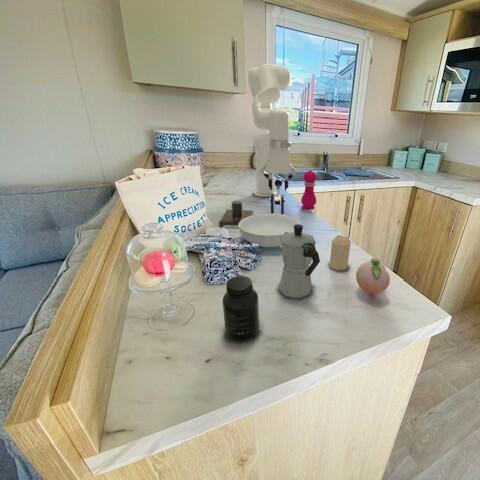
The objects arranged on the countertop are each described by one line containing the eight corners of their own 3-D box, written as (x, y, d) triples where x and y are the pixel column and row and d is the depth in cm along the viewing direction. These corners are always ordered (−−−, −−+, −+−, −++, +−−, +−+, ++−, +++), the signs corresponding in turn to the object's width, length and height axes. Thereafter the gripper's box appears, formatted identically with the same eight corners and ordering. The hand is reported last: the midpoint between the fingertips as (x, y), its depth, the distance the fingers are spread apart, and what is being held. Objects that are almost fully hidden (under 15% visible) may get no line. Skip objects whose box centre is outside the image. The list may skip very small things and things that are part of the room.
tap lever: (274, 183, 117) (274, 177, 114) (282, 183, 117) (282, 177, 115) (273, 205, 109) (273, 199, 107) (281, 205, 110) (281, 199, 107)
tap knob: (233, 213, 112) (232, 200, 110) (243, 214, 113) (242, 200, 111) (231, 217, 109) (230, 203, 106) (241, 217, 109) (241, 203, 107)
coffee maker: (269, 281, 74) (269, 219, 67) (296, 273, 79) (299, 214, 72) (298, 312, 64) (302, 243, 56) (328, 300, 69) (335, 235, 61)
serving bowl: (269, 225, 111) (269, 209, 108) (310, 240, 100) (312, 223, 97) (226, 241, 95) (225, 222, 92) (270, 261, 84) (270, 241, 82)
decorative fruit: (351, 282, 77) (355, 251, 73) (379, 283, 78) (385, 252, 74) (357, 303, 69) (362, 269, 64) (389, 304, 69) (396, 270, 65)
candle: (349, 264, 87) (353, 235, 82) (344, 272, 82) (348, 242, 78) (332, 260, 88) (335, 231, 84) (327, 268, 83) (330, 238, 79)
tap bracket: (267, 218, 118) (267, 191, 113) (288, 218, 119) (289, 192, 114) (265, 228, 107) (264, 199, 102) (288, 229, 108) (289, 200, 103)
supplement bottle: (229, 318, 60) (225, 272, 55) (260, 318, 61) (260, 272, 56) (221, 342, 54) (216, 292, 49) (257, 342, 55) (255, 292, 50)
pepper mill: (313, 213, 128) (316, 170, 120) (298, 211, 129) (300, 168, 121) (317, 208, 135) (320, 167, 126) (302, 206, 136) (304, 165, 127)
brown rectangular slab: (227, 215, 118) (226, 209, 116) (253, 216, 119) (253, 210, 118) (220, 227, 105) (219, 221, 104) (249, 228, 106) (249, 222, 105)
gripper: (300, 144, 113) (298, 188, 120) (257, 142, 111) (258, 186, 118) (300, 147, 106) (298, 192, 114) (255, 144, 104) (256, 190, 112)
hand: (278, 189), depth 116 cm, fingers open, 5 cm apart
